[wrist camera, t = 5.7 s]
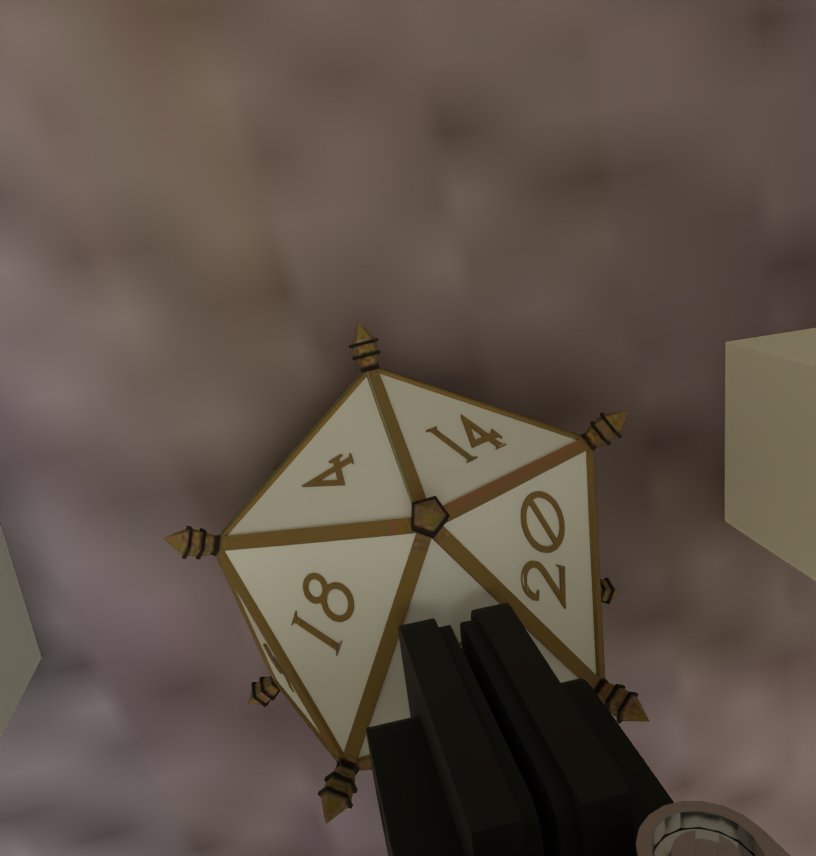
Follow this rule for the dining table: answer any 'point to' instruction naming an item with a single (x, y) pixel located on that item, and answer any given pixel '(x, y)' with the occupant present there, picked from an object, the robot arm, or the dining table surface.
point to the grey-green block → (13, 640)
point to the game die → (412, 551)
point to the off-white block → (773, 443)
